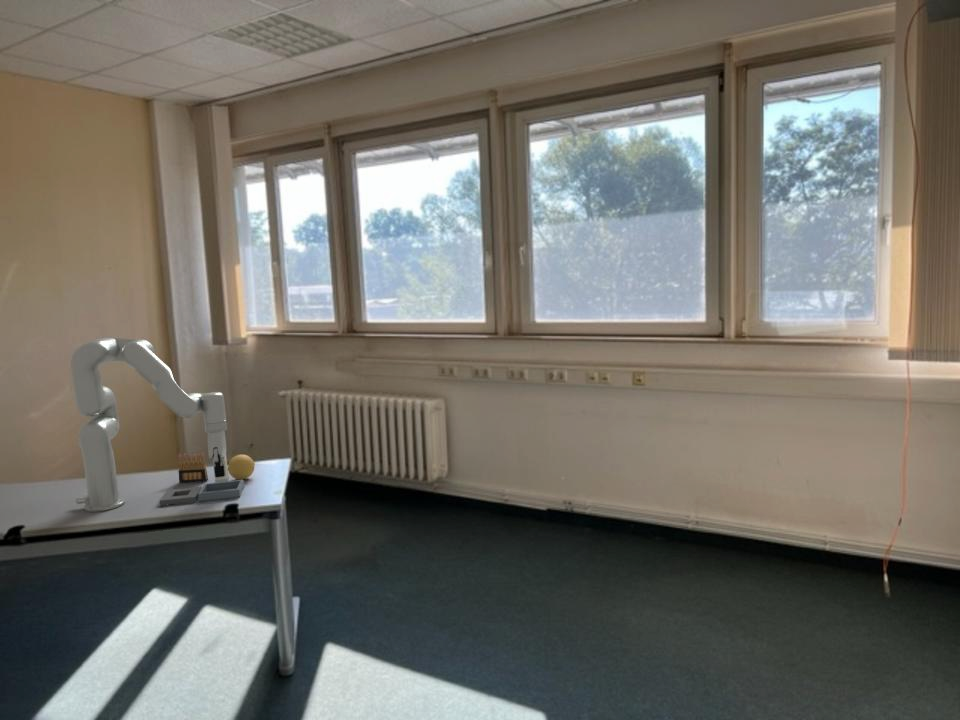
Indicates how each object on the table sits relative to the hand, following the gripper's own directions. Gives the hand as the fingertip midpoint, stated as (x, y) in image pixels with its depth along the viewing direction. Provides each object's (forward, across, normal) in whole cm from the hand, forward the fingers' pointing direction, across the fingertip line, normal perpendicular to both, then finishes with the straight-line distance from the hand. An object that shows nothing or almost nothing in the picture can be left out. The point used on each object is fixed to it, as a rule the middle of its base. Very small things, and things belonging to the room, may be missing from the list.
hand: (221, 474), depth 240 cm
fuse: (+3, 0, 0) cm, 3 cm away
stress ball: (+8, -17, +5) cm, 19 cm away
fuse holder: (+7, 0, -14) cm, 16 cm away
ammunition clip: (+8, -21, -14) cm, 27 cm away
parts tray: (+8, 0, 0) cm, 8 cm away
